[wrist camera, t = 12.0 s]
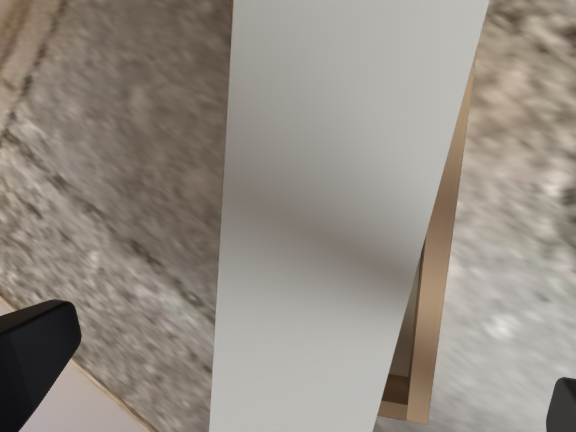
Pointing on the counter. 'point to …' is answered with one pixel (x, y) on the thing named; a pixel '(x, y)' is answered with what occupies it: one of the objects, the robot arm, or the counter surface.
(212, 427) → the white rectangular block
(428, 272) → the brown rectangular tray
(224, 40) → the counter surface
